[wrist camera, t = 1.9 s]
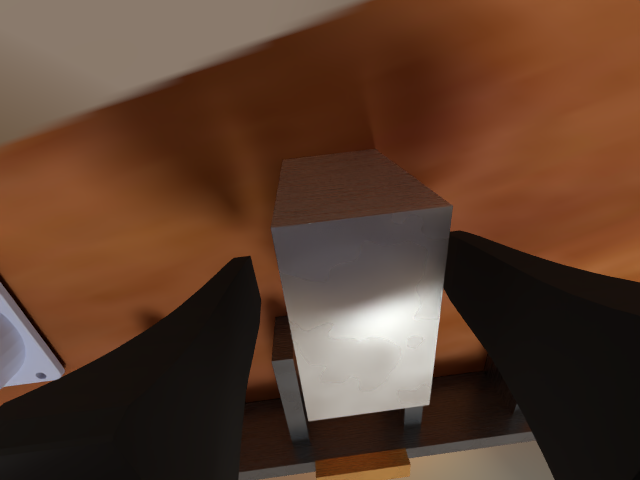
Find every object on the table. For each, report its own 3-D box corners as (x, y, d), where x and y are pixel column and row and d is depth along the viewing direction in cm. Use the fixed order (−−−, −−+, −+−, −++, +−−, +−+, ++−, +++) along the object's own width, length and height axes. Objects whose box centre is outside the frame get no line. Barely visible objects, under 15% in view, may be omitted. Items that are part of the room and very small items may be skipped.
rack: (200, 419, 20) (174, 509, 16) (158, 332, 16) (109, 418, 12) (495, 379, 20) (548, 456, 16) (520, 285, 17) (598, 352, 12)
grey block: (303, 290, 16) (308, 421, 10) (282, 159, 13) (270, 227, 6) (376, 281, 16) (429, 404, 10) (375, 148, 13) (452, 205, 6)
